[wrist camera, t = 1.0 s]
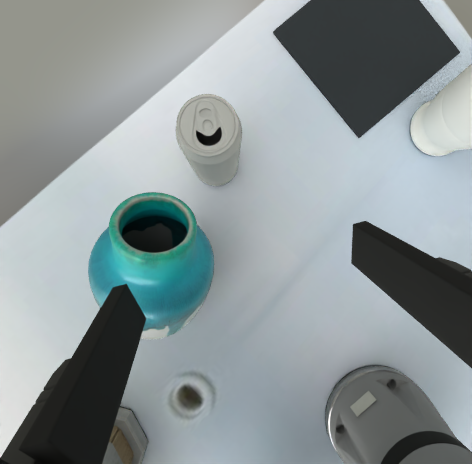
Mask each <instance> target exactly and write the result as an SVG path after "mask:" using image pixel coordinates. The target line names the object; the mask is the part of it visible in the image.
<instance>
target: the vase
mask: <svg viewBox="0 0 472 464" xmlns="http://www.w3.org/2000/svg"><path fill="white" fill-rule="evenodd" d="M213 272H214V255H213V251H212V247H211V245H210V242H209V240H208V238H207V237H206V235H205V234H204V232H203V231H202V230H201V229H200V228H199V226H197V223H196V219H195V216H194V214H193V212H192V211H191V209H190V208H189V207H188V206H187V205H186V204H185V203H184V202H183V201H181V200H179V199H178V198H176V197H174V196H171V195H168V194H164V193H156V192H152V193H142V194H138V195H135V196H132V197H130V198H128V199H126V200H125V201H123V202H122V203H121V204H120V205H119V206H118V207H117V208H116V209H115V211H114V212H113V214H112V216H111V218H110V222H109V227H108V228H107V229H106V230H105V231H104V232H103V233H102V235H101V236H100V237H99V239H98V240H97V242H96V243H95V245H94V247H93V250H92V252H91V255H90V259H89V267H88V275H89V282H90V286H91V289H92V292H93V295H94V298H95V300H96V302H97V303H98V305H99V307H100V308H101V307H102V305H103V303H104V301H105V300H106V298H107V296H108V295H109V293H110V291H111V289H112V288H113V287H116V286H119V285H123V284H127V285H128V287H129V289H130V291H131V292H132V294H133V296H134V298H135V299H136V301H137V303H138V305H139V306H140V308H141V310H142V312H143V313H144V315H145V317H146V321H145V325H144V328H143V331H142V335H141V339H148V340H153V339H160V338H164V337H168V336H170V335H172V334H174V333H176V332H178V331H179V330H181V329H182V328H183V327H184V326H186V325H187V324H188V323H189V322H190V321H191V320H192V319H193V317H194V316H195V315H196V314H197V312H198V311H199V309H200V307H201V306H202V304H203V302H204V300H205V298H206V296H207V294H208V291H209V289H210V286H211V282H212V278H213Z"/></svg>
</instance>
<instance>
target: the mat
mask: <svg viewBox="0 0 472 464" xmlns="http://www.w3.org/2000/svg"><path fill="white" fill-rule="evenodd" d="M273 33H274V35H275V36H276V37H277V38H278V40H279V41H280V42H281V43H282V45H283V46H284V47H285V48H286V49H287V51H288V52H289V53H290V54H291V56H292V57H293V58H294V59H295V60H296V62H297V63H298V64H299V65H300V67H301V68H302V69H303V70H304V71H305V73H306V74H307V75H308V76H309V78H310V79H311V80H312V81H313V83H314V84H315V85H316V86H317V87H318V89H319V90H320V91H321V92H322V94H323V95H324V96H325V97H326V98H327V100H328V101H329V102H330V103H331V105H332V106H333V107H334V108H335V109H336V111H337V112H338V113H339V114H340V116H341V117H342V118H343V119H344V121H345V122H346V123H347V124H348V125H349V127H350V128H351V129H352V130H353V132H354V133H355V134H356V135H357V136H358V138H360V137H361V136H362V135H363V134H364V133H366V132H367V131H368V130H369V129H370V128H371V127H373V126H374V125H375V124H376V123H377V122H379V121H380V120H381V119H382V118H383V117H384V116H386V115H387V114H388V113H389V112H390V111H391V110H393V109H394V108H395V107H396V106H397V105H399V104H400V103H401V102H402V101H403V100H404V99H406V98H407V97H408V96H409V95H410V94H412V93H413V92H414V91H415V90H416V89H417V88H419V87H420V86H421V85H422V84H423V83H424V82H426V81H427V80H428V79H429V78H430V77H432V76H433V75H434V74H435V73H436V72H437V71H439V70H440V69H441V68H442V67H443V66H445V65H446V64H447V63H448V62H449V61H450V60H452V59H453V58H454V57H455V56H456V55H457V54H459V53H460V51H459V50H458V49H457V47H456V46H455V45H454V44H453V42H452V41H451V40H450V39H449V37H448V36H447V35H446V33H445V32H444V31H443V30H442V28H441V27H440V26H439V25H438V23H437V22H436V21H435V20H434V18H433V17H432V16H431V15H430V13H429V12H428V11H427V9H426V8H425V7H424V6H423V4H422V3H421V2H420V1H419V0H311V1H309V2H308V3H307V4H306V5H305V6H303V7H302V8H301V9H300V10H299V11H297V12H296V13H295V14H294V15H292V16H291V17H290V18H289V19H288V20H286V21H285V22H284V23H283V24H282V25H280V26H279V27H278V28H277V29H276V30H274V31H273Z"/></svg>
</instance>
